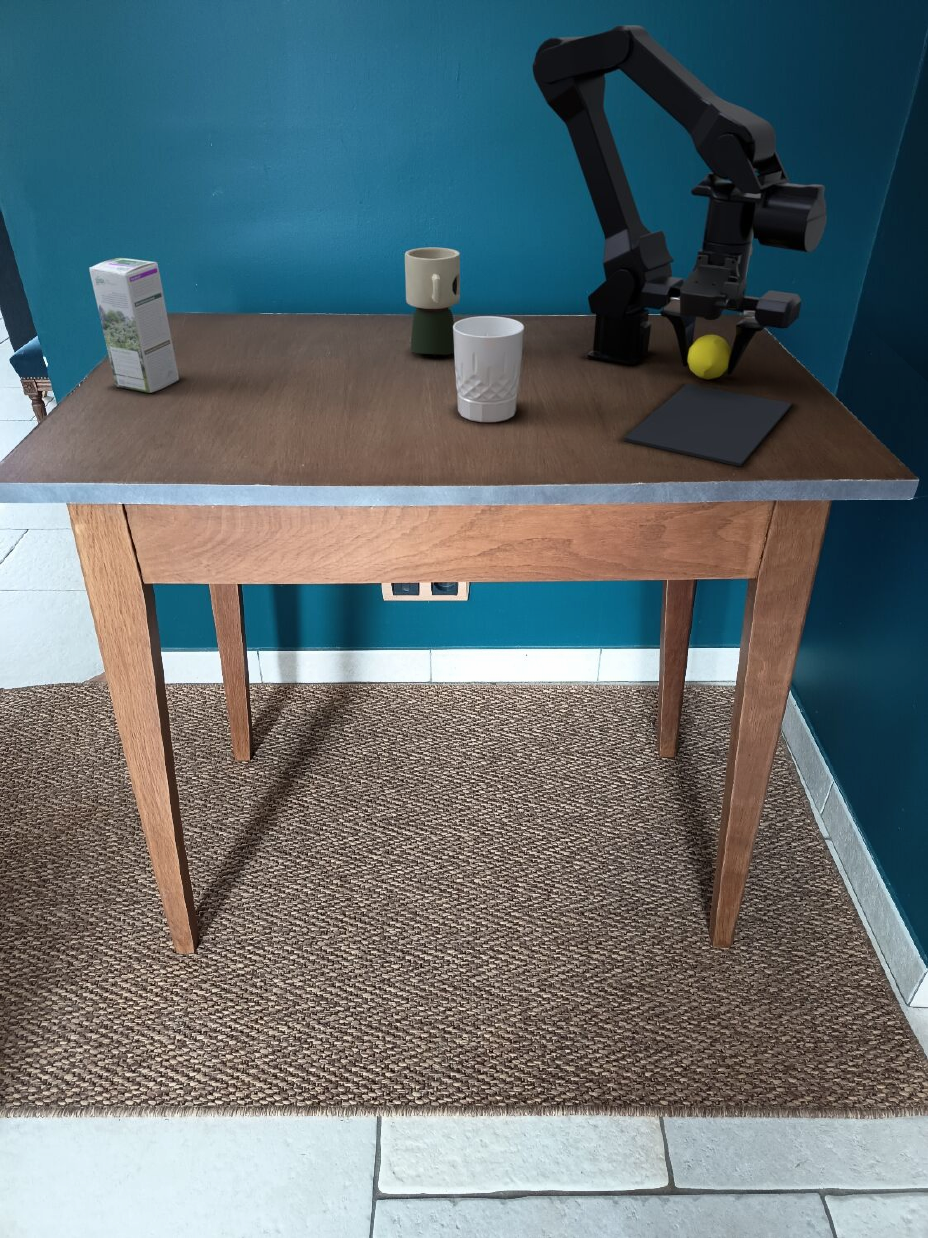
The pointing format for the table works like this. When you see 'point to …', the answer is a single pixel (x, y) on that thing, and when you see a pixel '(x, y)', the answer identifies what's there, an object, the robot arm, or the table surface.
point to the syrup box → (135, 323)
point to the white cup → (487, 367)
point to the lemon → (709, 356)
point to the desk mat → (710, 424)
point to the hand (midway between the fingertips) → (707, 369)
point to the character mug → (432, 297)
